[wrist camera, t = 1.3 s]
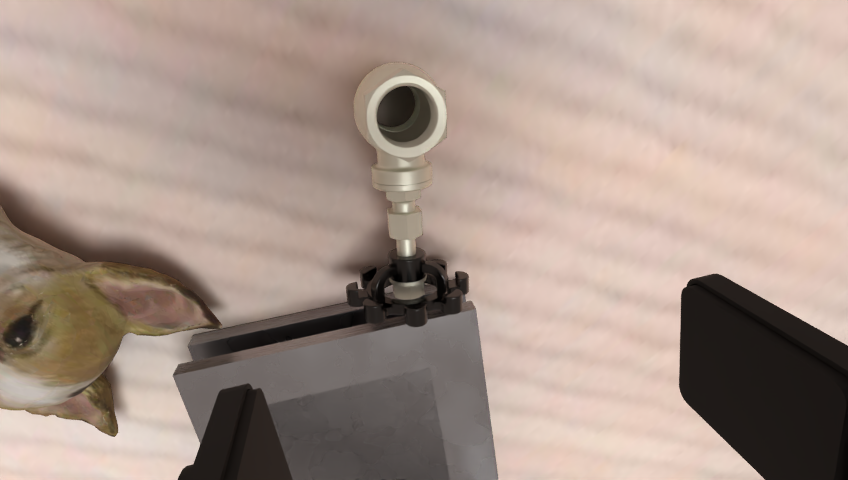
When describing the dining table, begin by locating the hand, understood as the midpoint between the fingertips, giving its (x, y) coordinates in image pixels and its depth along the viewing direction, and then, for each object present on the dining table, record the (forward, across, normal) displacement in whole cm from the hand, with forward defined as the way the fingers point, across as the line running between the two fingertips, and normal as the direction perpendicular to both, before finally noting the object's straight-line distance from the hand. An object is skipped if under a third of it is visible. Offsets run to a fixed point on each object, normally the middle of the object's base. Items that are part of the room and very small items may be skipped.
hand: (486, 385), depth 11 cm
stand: (+19, +5, +14) cm, 24 cm away
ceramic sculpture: (+19, +19, +2) cm, 27 cm away
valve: (+19, 0, 0) cm, 19 cm away
